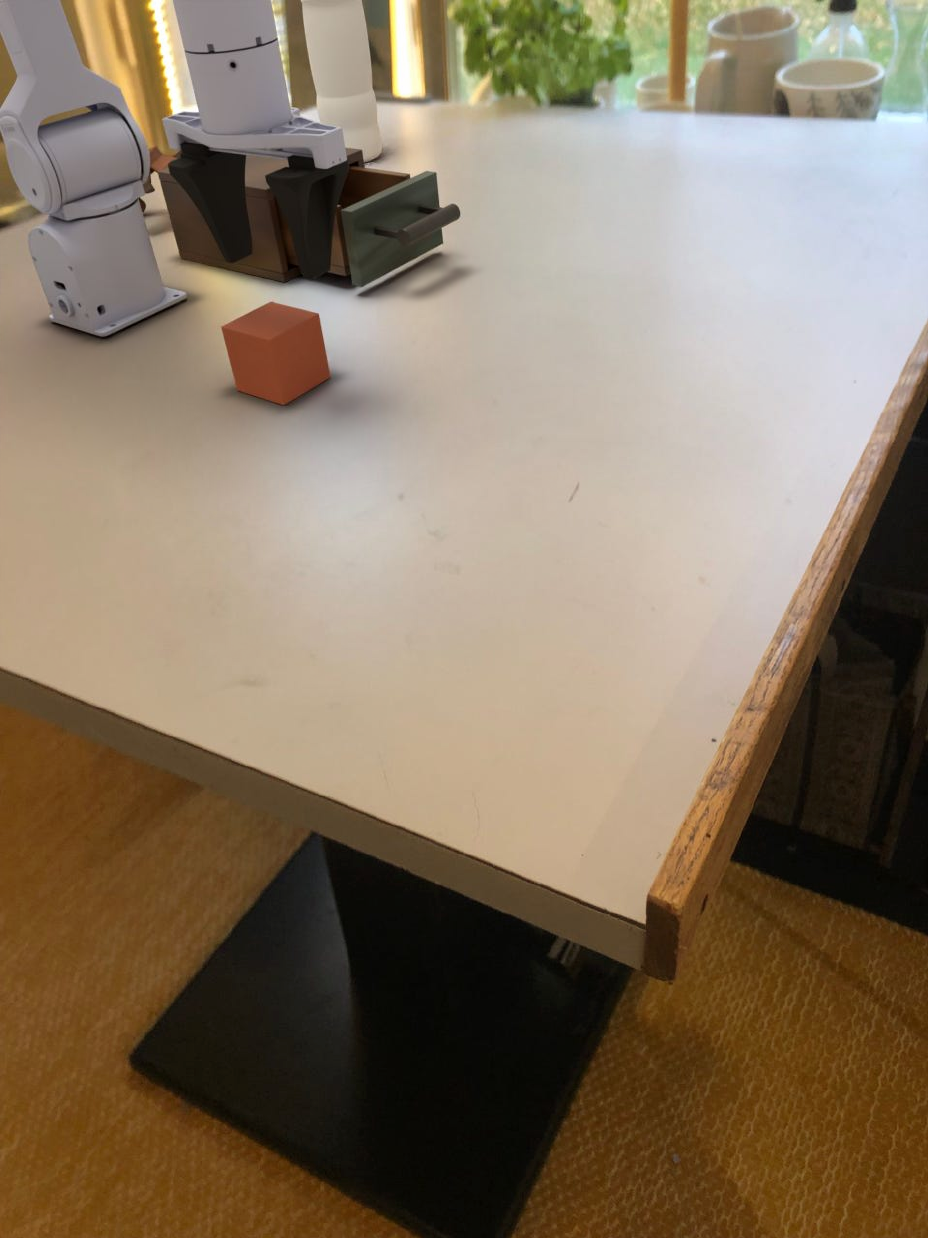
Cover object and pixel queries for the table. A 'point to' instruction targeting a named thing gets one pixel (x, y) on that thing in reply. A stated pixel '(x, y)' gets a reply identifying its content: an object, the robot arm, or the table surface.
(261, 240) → the cabinet
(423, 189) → the drawer
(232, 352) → the block
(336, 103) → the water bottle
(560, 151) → the table surface
